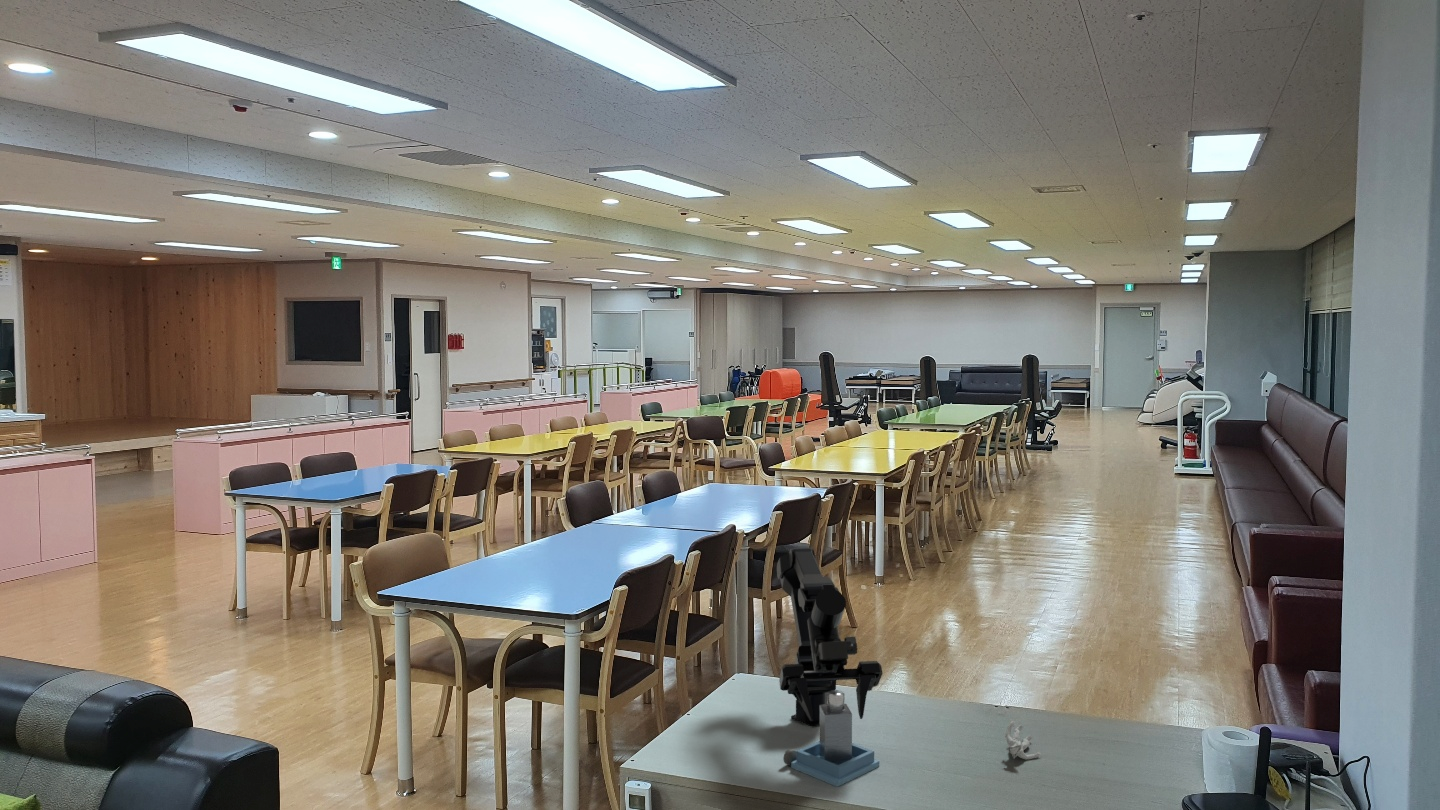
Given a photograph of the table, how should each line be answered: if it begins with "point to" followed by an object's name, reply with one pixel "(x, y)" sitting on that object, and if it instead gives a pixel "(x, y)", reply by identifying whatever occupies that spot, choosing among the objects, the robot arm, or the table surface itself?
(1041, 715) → the table surface
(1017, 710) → the table surface
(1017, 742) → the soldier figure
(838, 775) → the chassis
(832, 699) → the square bottle with cap
